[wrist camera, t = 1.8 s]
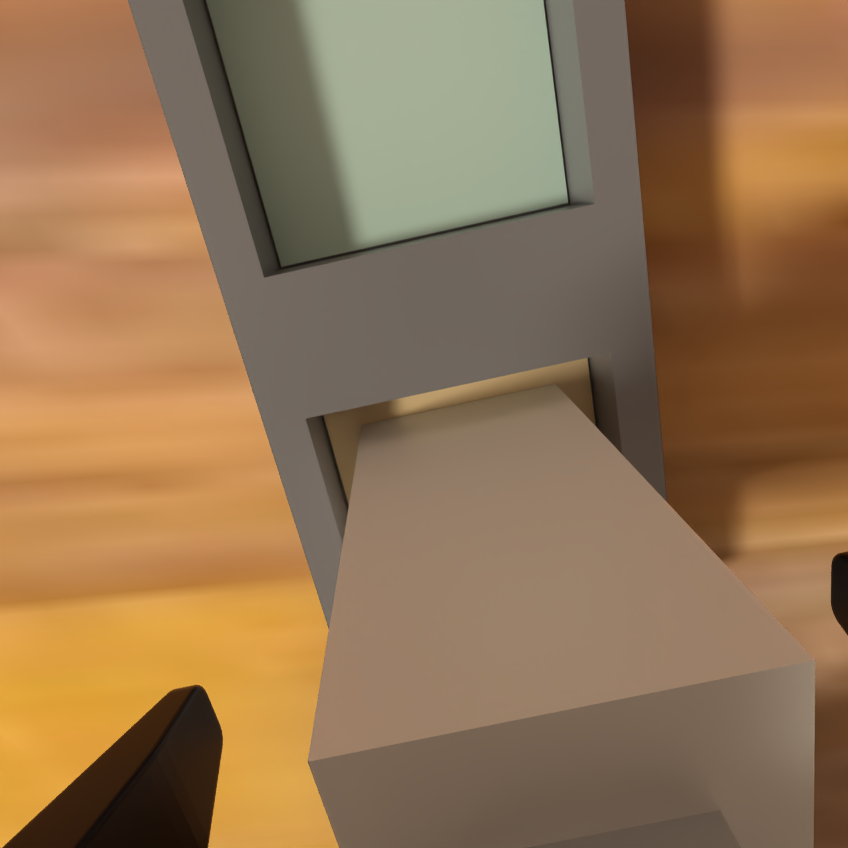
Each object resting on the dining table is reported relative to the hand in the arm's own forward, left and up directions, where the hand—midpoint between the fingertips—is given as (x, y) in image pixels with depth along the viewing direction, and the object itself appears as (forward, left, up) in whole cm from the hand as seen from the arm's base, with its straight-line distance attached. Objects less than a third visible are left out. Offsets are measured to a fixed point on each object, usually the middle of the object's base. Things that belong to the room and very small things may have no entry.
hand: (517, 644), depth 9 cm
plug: (0, 0, -5) cm, 5 cm away
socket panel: (+3, -3, -5) cm, 7 cm away
